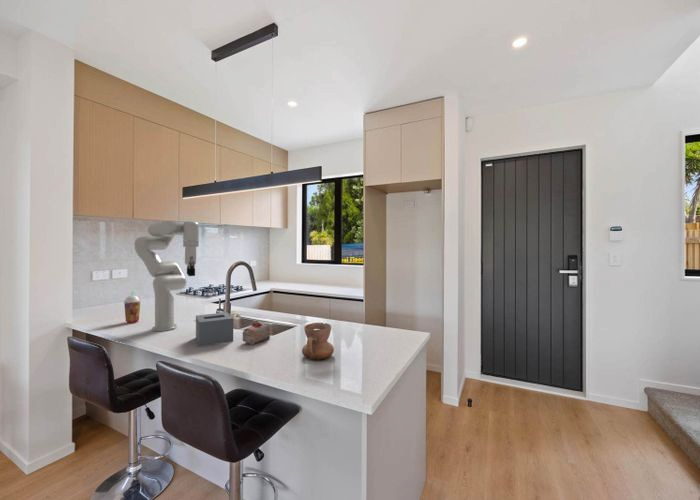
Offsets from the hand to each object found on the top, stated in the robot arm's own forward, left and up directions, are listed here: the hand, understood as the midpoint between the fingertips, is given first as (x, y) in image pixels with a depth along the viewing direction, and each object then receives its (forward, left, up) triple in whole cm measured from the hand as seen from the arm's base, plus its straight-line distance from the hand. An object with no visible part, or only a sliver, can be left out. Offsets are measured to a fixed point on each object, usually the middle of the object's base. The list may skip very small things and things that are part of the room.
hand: (190, 275), depth 165 cm
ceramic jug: (+64, +46, -34) cm, 86 cm away
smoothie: (-48, -29, -34) cm, 65 cm away
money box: (+14, +10, -33) cm, 37 cm away
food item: (+28, +29, -34) cm, 52 cm away
